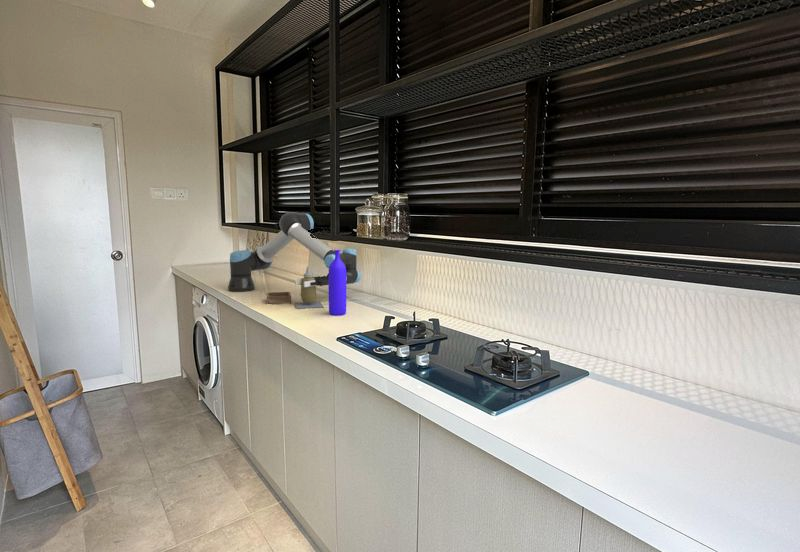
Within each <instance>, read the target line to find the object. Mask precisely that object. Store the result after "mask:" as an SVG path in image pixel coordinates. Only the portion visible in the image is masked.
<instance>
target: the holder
mask: <svg viewBox="0 0 800 552" xmlns="http://www.w3.org/2000/svg"><path fill="white" fill-rule="evenodd" d="M290 303H293V302H292V294H291V292H290V291H276V292H266V305H267V304H272V305H286V304H287V305H288V304H290Z"/></svg>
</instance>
